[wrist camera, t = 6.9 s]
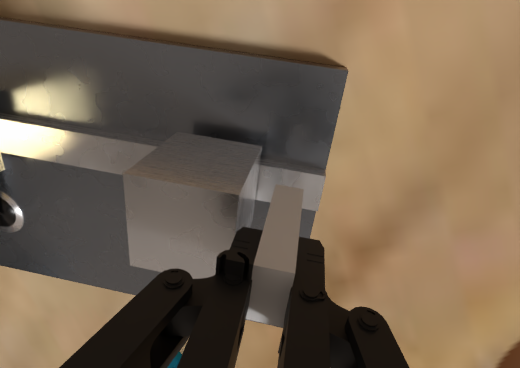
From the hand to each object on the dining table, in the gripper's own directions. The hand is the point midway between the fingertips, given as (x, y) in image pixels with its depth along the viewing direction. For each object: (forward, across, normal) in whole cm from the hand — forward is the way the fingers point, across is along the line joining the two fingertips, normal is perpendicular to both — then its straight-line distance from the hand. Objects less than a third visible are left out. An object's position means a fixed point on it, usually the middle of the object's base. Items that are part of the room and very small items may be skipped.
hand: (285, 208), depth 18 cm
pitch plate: (+5, +13, +3) cm, 14 cm away
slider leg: (+2, +4, +3) cm, 6 cm away
